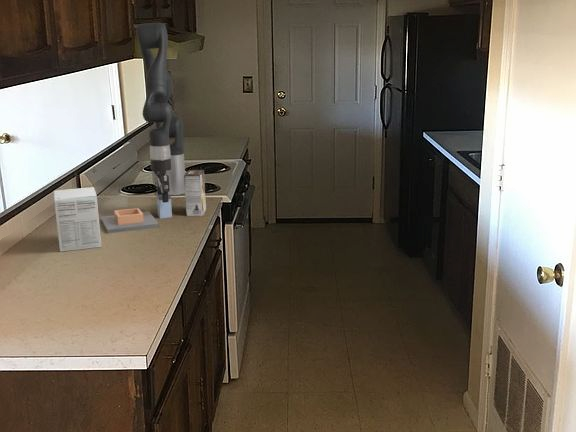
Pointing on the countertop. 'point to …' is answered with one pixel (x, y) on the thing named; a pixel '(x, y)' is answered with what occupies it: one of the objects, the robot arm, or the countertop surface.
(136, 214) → the socket dock
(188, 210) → the coffee box
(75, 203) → the supplement box
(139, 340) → the countertop surface
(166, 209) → the plug
